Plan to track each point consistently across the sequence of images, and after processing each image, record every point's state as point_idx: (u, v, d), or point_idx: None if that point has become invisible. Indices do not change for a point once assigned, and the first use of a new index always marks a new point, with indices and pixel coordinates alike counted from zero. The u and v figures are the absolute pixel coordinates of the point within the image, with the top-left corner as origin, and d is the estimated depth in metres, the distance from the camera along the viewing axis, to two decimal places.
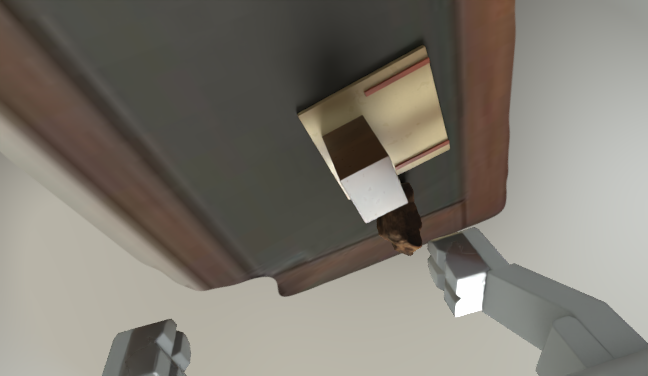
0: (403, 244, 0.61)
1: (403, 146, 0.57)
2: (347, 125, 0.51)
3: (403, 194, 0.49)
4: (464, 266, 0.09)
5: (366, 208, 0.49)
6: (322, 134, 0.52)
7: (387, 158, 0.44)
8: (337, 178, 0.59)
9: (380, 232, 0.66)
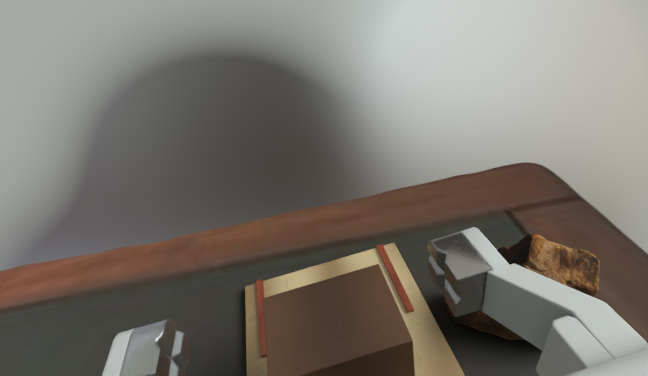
0: (546, 270, 0.28)
1: None
2: None
3: (355, 272, 0.28)
4: (464, 266, 0.09)
5: (366, 335, 0.24)
6: None
7: (266, 299, 0.28)
8: None
9: None
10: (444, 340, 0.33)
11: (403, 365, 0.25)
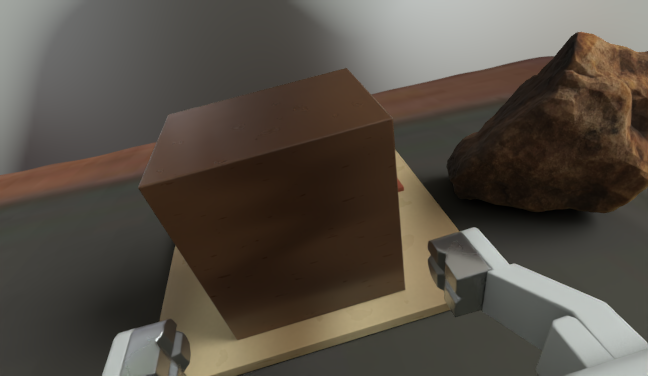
0: (601, 75, 0.19)
1: None
2: None
3: (310, 78, 0.19)
4: (464, 266, 0.09)
5: (315, 123, 0.14)
6: (233, 338, 0.19)
7: (173, 114, 0.18)
8: (399, 312, 0.19)
9: (632, 177, 0.19)
10: (445, 216, 0.24)
11: (379, 186, 0.15)
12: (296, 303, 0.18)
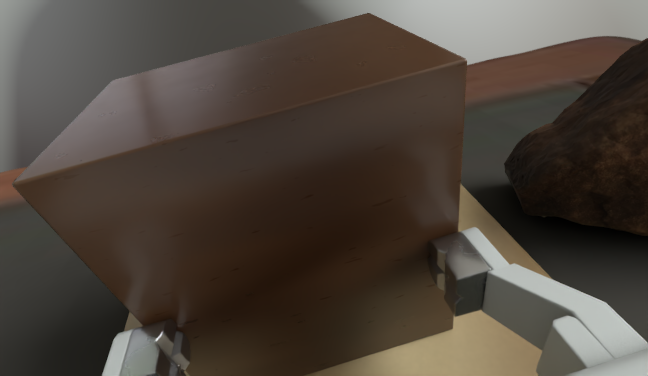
0: None
1: None
2: None
3: (317, 27, 0.13)
4: (464, 266, 0.09)
5: (329, 75, 0.08)
6: None
7: (118, 80, 0.12)
8: None
9: None
10: (513, 242, 0.17)
11: (433, 180, 0.09)
12: (299, 353, 0.13)
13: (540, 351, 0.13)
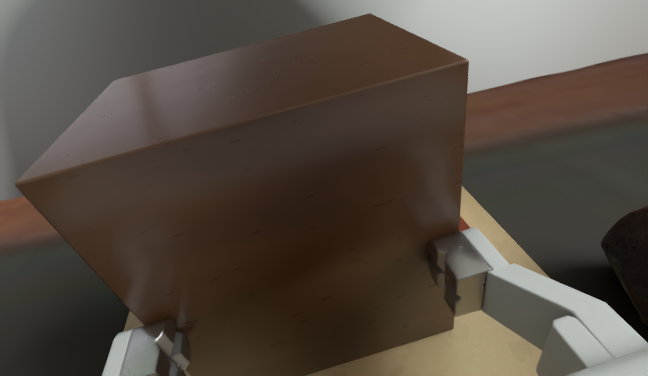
0: None
1: None
2: None
3: (318, 27, 0.13)
4: (464, 266, 0.09)
5: (331, 76, 0.08)
6: None
7: (119, 80, 0.12)
8: None
9: None
10: None
11: (434, 181, 0.09)
12: (300, 353, 0.13)
13: None
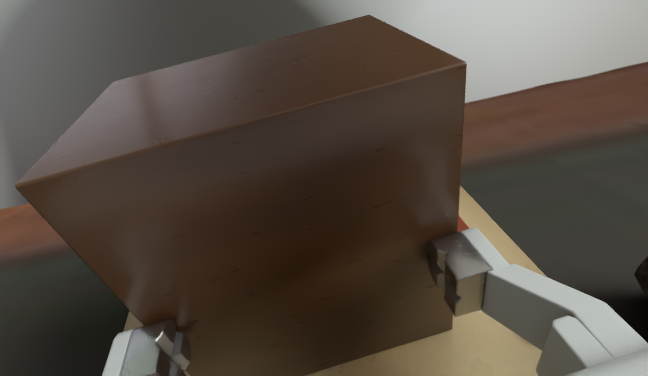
0: None
1: None
2: None
3: (318, 29, 0.13)
4: (464, 266, 0.09)
5: (330, 77, 0.08)
6: None
7: (119, 81, 0.12)
8: None
9: None
10: None
11: (433, 182, 0.09)
12: (299, 353, 0.13)
13: None
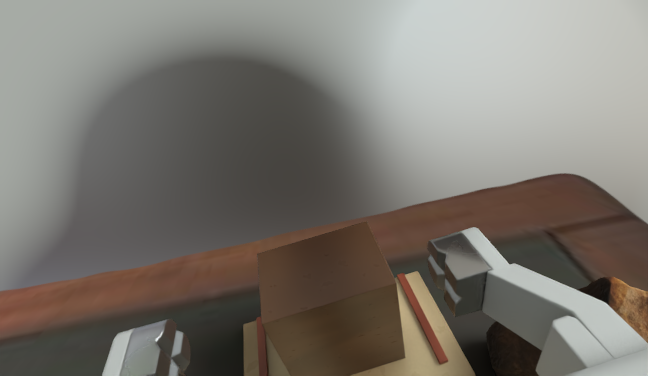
0: (632, 327, 0.22)
1: None
2: None
3: (344, 229, 0.30)
4: (464, 266, 0.09)
5: (353, 280, 0.25)
6: None
7: (261, 254, 0.29)
8: None
9: None
10: None
11: (389, 310, 0.26)
12: (337, 369, 0.30)
13: None
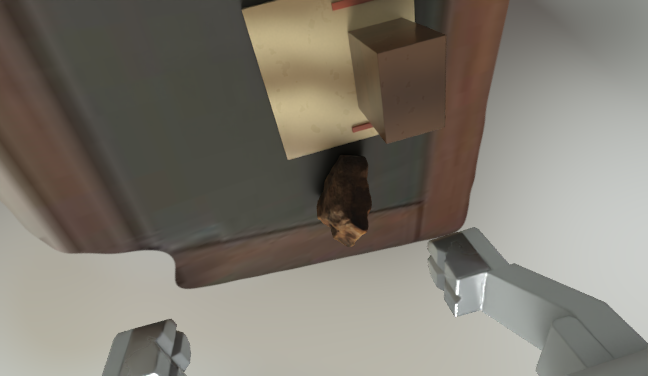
0: (345, 226, 0.48)
1: None
2: (382, 23, 0.41)
3: (443, 110, 0.37)
4: (464, 266, 0.09)
5: (395, 117, 0.37)
6: (269, 49, 0.41)
7: (443, 39, 0.33)
8: (278, 123, 0.46)
9: (319, 213, 0.53)
10: (328, 147, 0.50)
11: (376, 126, 0.40)
12: (355, 67, 0.42)
13: (291, 142, 0.48)
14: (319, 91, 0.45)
